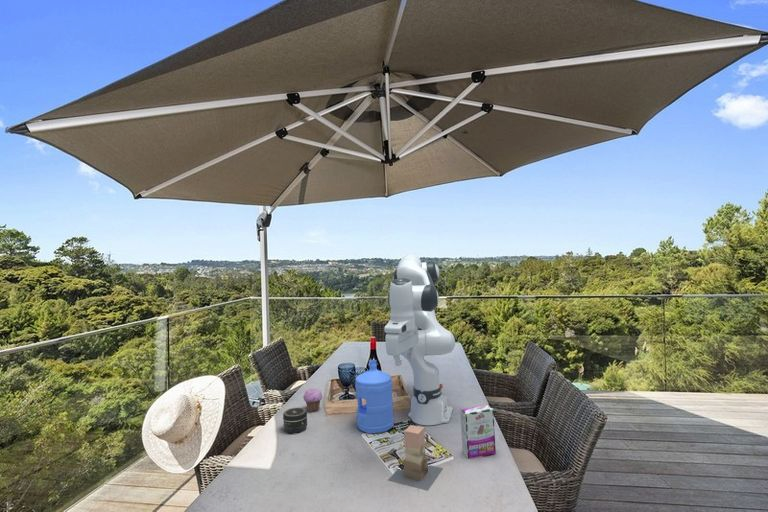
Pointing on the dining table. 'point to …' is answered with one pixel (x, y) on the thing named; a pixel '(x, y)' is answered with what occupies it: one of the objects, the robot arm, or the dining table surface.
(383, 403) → the water jug
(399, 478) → the mat
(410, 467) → the tower base
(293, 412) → the jar
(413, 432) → the terracotta block
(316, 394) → the cupcake
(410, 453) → the tower mid
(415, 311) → the robot arm
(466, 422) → the candy bar box
